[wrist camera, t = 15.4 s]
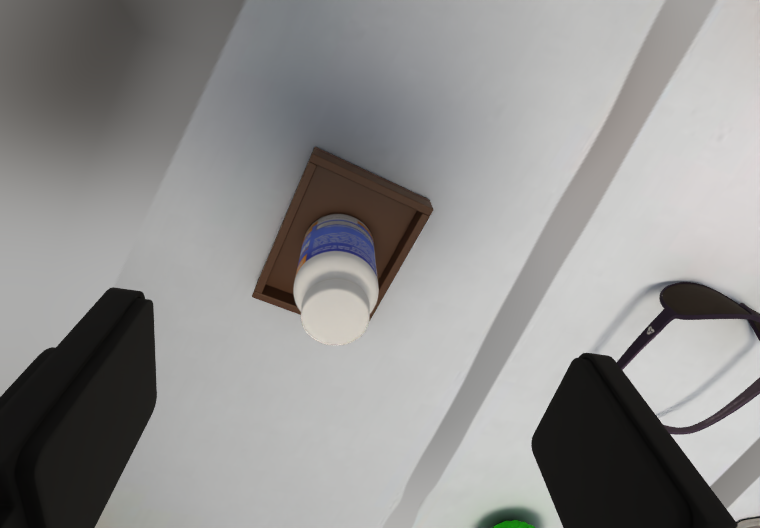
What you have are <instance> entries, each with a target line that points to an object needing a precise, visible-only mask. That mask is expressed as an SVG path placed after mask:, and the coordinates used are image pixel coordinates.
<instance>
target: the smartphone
mask: <svg viewBox="0 0 760 528" xmlns="http://www.w3.org/2000/svg"><path fill="white" fill-rule="evenodd" d="M736 528H760V518H756V519H750V520H744V521H741V522H739V523H738V526H737V527H736Z"/></svg>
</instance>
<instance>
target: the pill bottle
mask: <svg viewBox="0 0 760 528" xmlns="http://www.w3.org/2000/svg"><path fill="white" fill-rule="evenodd" d="M293 293H294V299H295V302H296V305H297V307H298V308H299V310H300V312H301V322H302V325H303V327H304V329H305V331H306V332H307V334H308V335H309V336H310V337H312V338H313V339H314V340H316V341H318V342H320V343H323V344H327V345H344V344H348V343H350V342H353V341H354V340H356V339H358V338H359V337H360V336H361V335H362V334H363V333H364V332H365V330H366V329H367V326H368V324H369V319H370V313H371V312H372V311H373V309H374V307H375V305H376V303H377V300H378V294H379V288H378V279H377V270H376V262H375V251H374V242H373V237H372V235H371V233H370V231H369V229H368V228H367V227H366V226H365V225H364V224H363V223H362V222H361V221H360V220H358V219H356V218H354V217H352V216H349V215H345V214H331V215H327V216H324V217H322V218H320V219H318V220H317V221H315V222H314V223H313V224H312V225H311V226H310V227H309V229H308V230H307V232H306V234H305V237H304V240H303V244H302V249H301V253H300V258H299V262H298V267H297V272H296V276H295V281H294V288H293Z"/></svg>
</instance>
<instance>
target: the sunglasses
mask: <svg viewBox="0 0 760 528" xmlns="http://www.w3.org/2000/svg"><path fill="white" fill-rule="evenodd" d="M660 303H661V305H662V306H663V307H664V310H663V311H662V312H661V313H660V314H659V315H658V316H657V317H656V318H655V319H654V320H653V321H652V322H651V323H650V325H649V326H648V327H647V328H646V329H645V330H644V331H643V332H642V333H641V335H640V336H639V337H638V338H637V339H636V340H635V341H634V342H633V344H632V345H631V346H630V347H629V348H628V349H627V351H626V352H625V353H624V354H623V355H622V357H621V358H620V359H619V360H618V362H617V364H618V366H619V367H620V368H621V370H623V369H624V368H625V367H626V366H627V365H628V364H629V362H630V361H631V360H632V359H633V358H634V357H635V356H636V355H637V354H638V353H639V352H640V351H641V350H642V349H643V348H644V347H645V346H646V345H647V344H648V343H649V342H650V341H651V340H652V339H653V338H654V337H655V336H656V335H657V334H659V333H660V332H661V331H662V329H663V328H664V327H665V326H666V325H667V324H668V323H669V322H671V321H672V320H673V319H683V320H700V319H747V320H748V321H749V323H750V325H751V327H752V328H753V330H754V332H755V334H756V336H757V337H758V339H759V340H760V314H759V313H757V312H756V311H754V310H752V309H750V308H749V307H747V306H746V305H745V304H744V303H740V304H738V303H736V302H735V301H733V300H732V299H730V298H728V297H727V296H725V295H723V294H722V293H720V292H718V291H716V290H714V289H712V288H709V287H707V286H704V285H701V284H697V283H691V282H680V283H675V284H671V285H669V286H667V287H665V288H664V289H663V290H662V291H661V293H660ZM758 394H760V378H759V379H757V380H756V381H755V382H754V383H753V384H752V385H751V386H749V387H748V388H747V389H746V390H745V391H744V392H742V393H741V394H740V395H739V396H738V397H736V398H735V399H734V400H733V401H731V402H730V403H729V404H728V405H726V406H725V407H724V408H722V409H721V410H720V411H718V412H717V413H715V414H714V415H713V416H711V417H709V418H707V419H706V420H704V421H702V422H700V423H698V424H695V425H693V426H690V427H683V428H676V427H670V426H665V425H663V426H664V427H665V428H666V430H667V431H668V432H669V434H690V433H694V432H697V431H700V430H702V429H705V428H707V427H709V426H711V425H713V424H714V423H716V422H718V421H720V420H721V419H723V418H725V417H726V416H728V415H730V414H731V413H733V412H734V411H736V410H738V409H739V408H741V407H742V406H743V405H745V404H746V403H748V402H749V401H750V400H752V399H753V398H754V397H756V396H757V395H758Z"/></svg>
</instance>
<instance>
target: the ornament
mask: <svg viewBox="0 0 760 528" xmlns="http://www.w3.org/2000/svg"><path fill="white" fill-rule="evenodd" d="M493 528H535V527H534V526H532V525H528V524H527V523H525V522H524V521H523V522H520V521H518V520H512V521H506V520H505V521H504V522H501V523H500V524H497V525H496V526H494V527H493Z"/></svg>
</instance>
